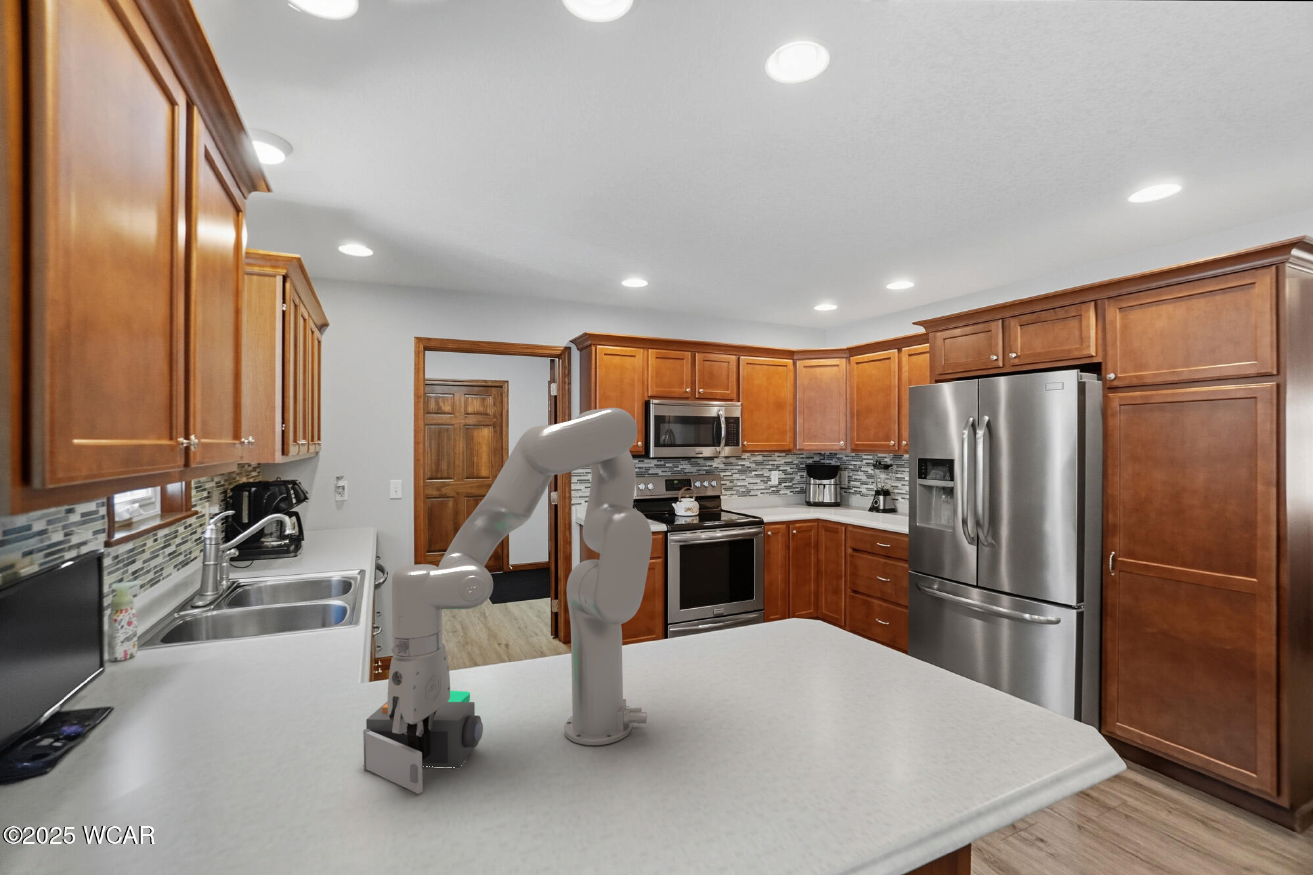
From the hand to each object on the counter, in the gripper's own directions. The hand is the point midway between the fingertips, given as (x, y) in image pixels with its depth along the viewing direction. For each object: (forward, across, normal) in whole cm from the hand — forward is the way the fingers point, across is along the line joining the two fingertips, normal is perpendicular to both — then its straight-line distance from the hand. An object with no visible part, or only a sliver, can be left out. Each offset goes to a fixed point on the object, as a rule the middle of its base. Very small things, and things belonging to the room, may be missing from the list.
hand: (419, 756), depth 97 cm
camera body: (+4, +6, +3) cm, 8 cm away
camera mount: (+4, +20, +12) cm, 24 cm away
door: (+3, -2, +4) cm, 6 cm away
